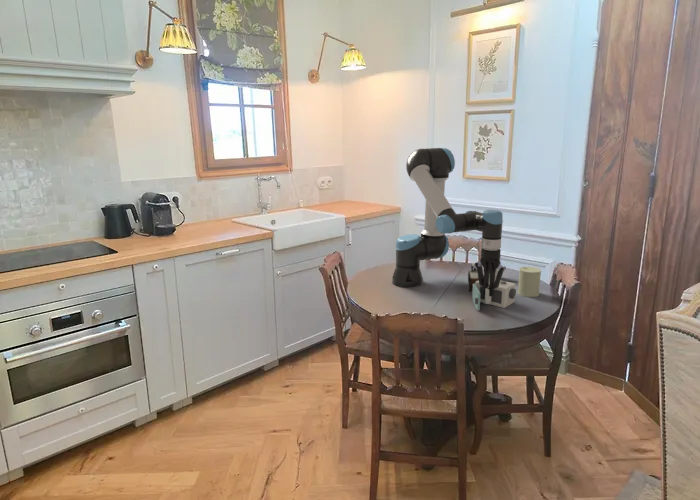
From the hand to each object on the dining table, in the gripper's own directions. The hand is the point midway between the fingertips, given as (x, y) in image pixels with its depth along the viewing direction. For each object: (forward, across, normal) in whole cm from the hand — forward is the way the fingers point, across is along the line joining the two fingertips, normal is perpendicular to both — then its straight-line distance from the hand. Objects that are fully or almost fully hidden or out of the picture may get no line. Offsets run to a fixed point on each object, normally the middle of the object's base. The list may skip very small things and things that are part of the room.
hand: (487, 302), depth 192 cm
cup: (+2, -19, +39) cm, 43 cm away
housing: (+2, -2, +9) cm, 9 cm away
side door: (+2, -5, -1) cm, 6 cm away
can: (+2, +5, +28) cm, 28 cm away
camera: (+3, -17, +20) cm, 26 cm away
